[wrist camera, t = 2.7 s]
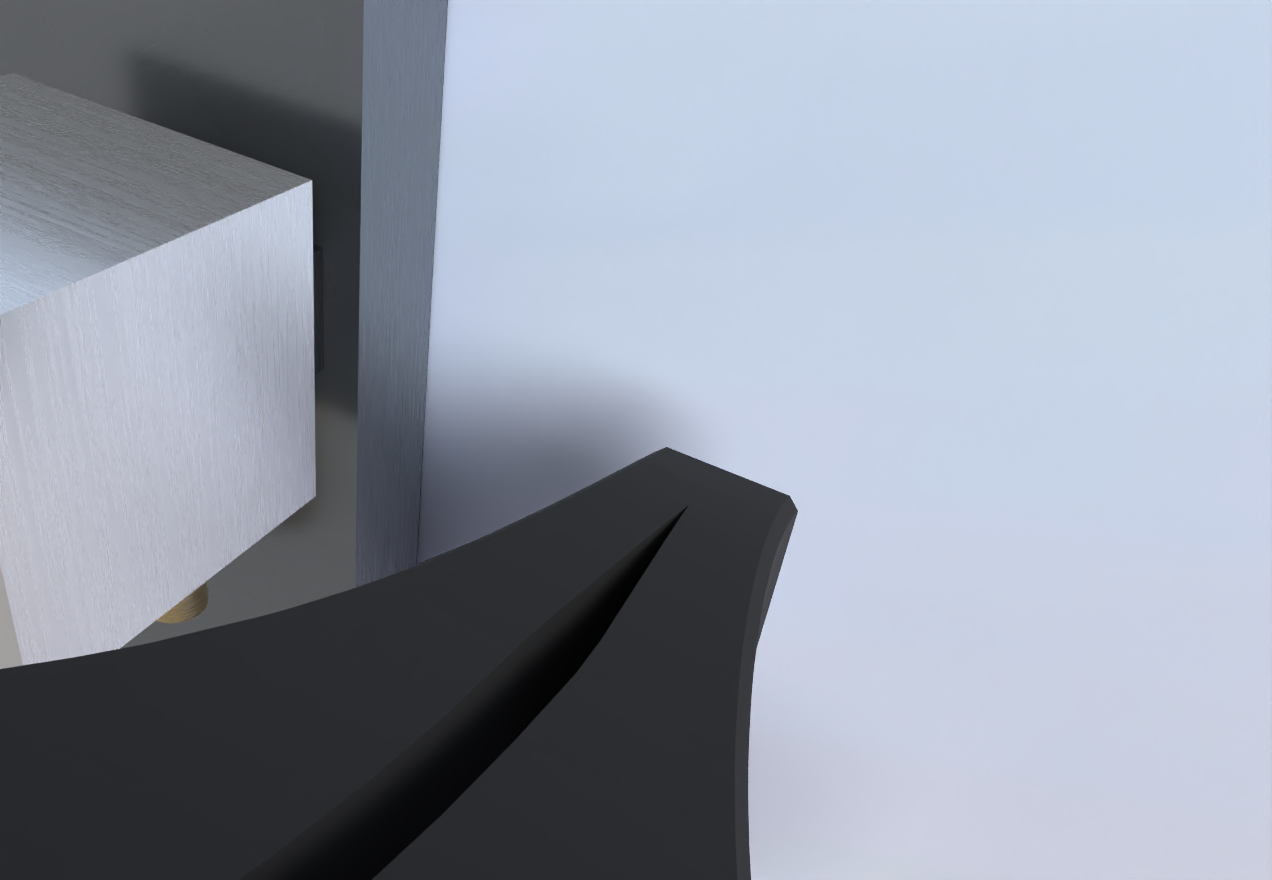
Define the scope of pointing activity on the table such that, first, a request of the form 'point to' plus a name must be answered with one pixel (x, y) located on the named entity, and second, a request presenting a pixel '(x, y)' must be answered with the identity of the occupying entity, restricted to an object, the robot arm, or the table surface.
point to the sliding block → (141, 369)
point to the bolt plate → (342, 231)
